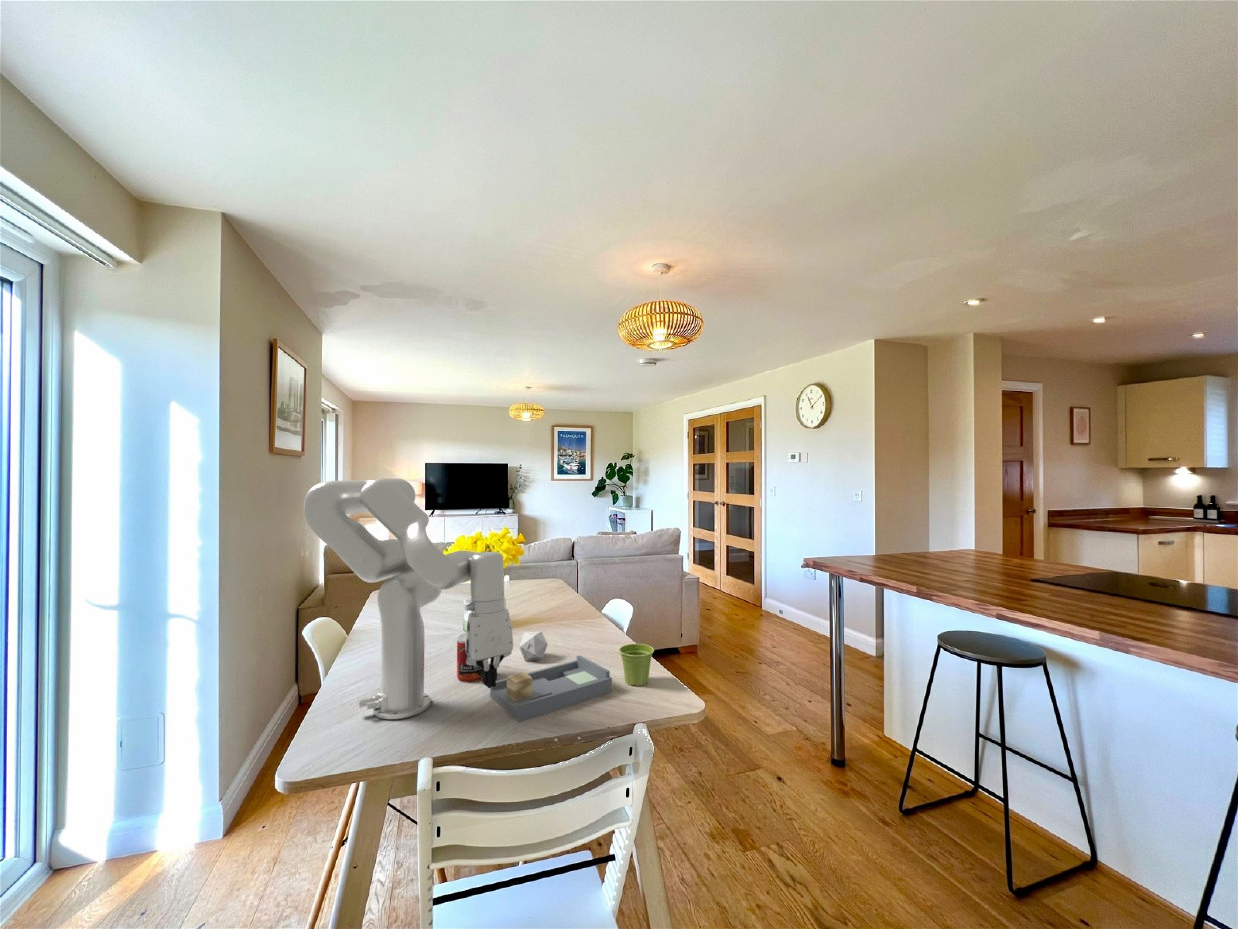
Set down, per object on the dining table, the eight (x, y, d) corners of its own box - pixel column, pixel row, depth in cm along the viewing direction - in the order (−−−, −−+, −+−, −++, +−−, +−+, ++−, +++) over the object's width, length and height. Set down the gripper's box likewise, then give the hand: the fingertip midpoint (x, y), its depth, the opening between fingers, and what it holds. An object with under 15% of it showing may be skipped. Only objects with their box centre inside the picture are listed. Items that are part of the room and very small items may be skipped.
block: (514, 701, 118) (515, 682, 118) (506, 694, 122) (506, 676, 122) (532, 696, 121) (532, 677, 121) (523, 690, 125) (523, 671, 125)
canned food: (456, 684, 133) (456, 642, 133) (457, 672, 141) (457, 633, 141) (486, 681, 135) (486, 639, 135) (485, 669, 143) (486, 631, 143)
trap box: (519, 721, 113) (519, 699, 113) (490, 696, 125) (490, 676, 126) (611, 691, 129) (611, 672, 129) (577, 672, 141) (577, 654, 141)
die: (513, 660, 152) (514, 640, 147) (528, 639, 159) (530, 619, 153) (536, 672, 150) (538, 653, 145) (551, 650, 157) (553, 631, 151)
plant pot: (632, 692, 128) (632, 658, 129) (612, 679, 136) (612, 647, 136) (661, 684, 134) (661, 651, 134) (640, 672, 141) (640, 641, 142)
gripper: (462, 615, 109) (464, 700, 109) (524, 603, 118) (526, 681, 118) (450, 608, 115) (452, 689, 115) (510, 597, 124) (512, 672, 124)
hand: (489, 685), depth 116 cm, fingers closed
